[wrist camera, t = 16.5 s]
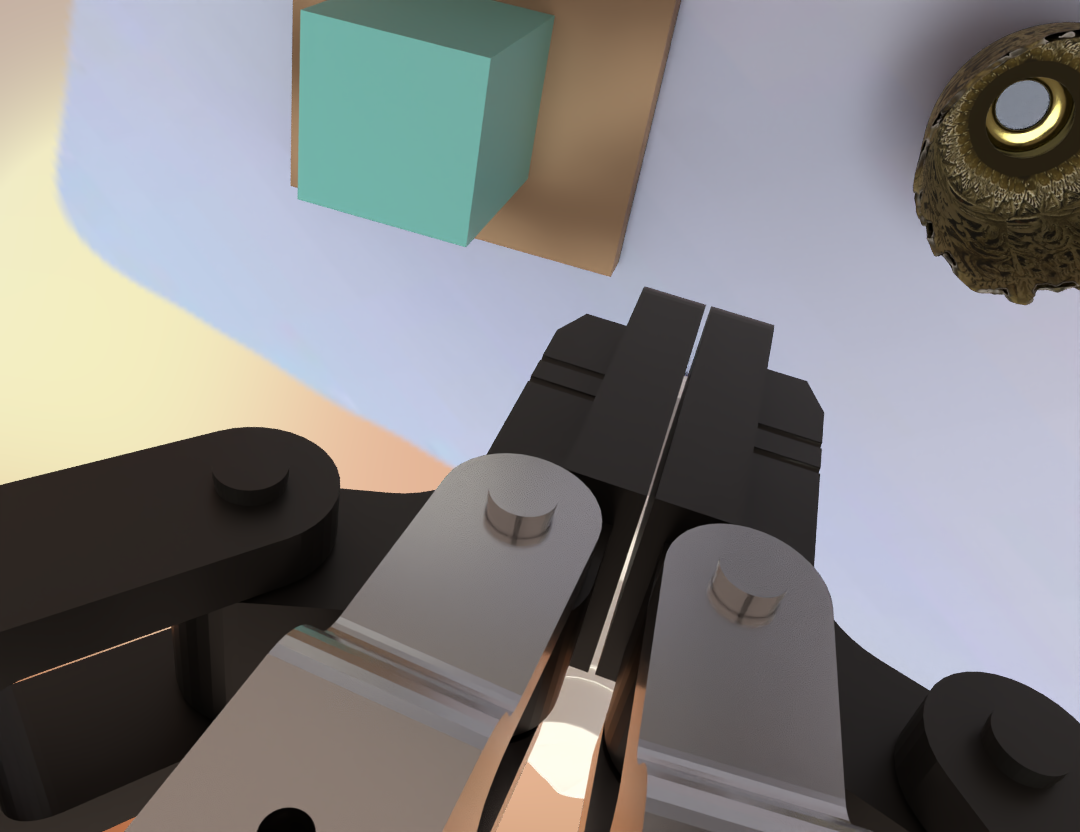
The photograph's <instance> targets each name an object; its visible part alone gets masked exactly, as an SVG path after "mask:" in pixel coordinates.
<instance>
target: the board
mask: <svg viewBox="0 0 1080 832" xmlns="http://www.w3.org/2000/svg"><path fill="white" fill-rule="evenodd" d="M324 1H327V0H293V37H292V120H291V186H293V187H297V188H298V144H299V79H300V15H301V9H304V8H307V7H310V6H313V5H316V4H319V3H321V2H324ZM493 1H497V2H501V3H505V4H509V5H513V6H518V7H522V8H526V9H530V10H534V11H538V12H542V13H546V14H550V15H554V16H555V18H554V24H553V30H552V36H551V42H550V48H549V54H548V60H547V66H546V72H545V78H544V84H543V90H542V96H541V102H540V108H539V114H538V120H537V126H536V132H535V138H534V144H533V150H532V156H531V162H530V168H529V174H528V179H527V180H526V181H525V183H524V184H523V185H522V186H521V187H520V188H519V189H518V190H517V191H516V192H515V194H514V195H513V196H512V197H511V198H510V199H509V200H508V201H507V202H506V204H505V205H504V206H503V207H502V208H501V209H500V210H499V211H498V212H497V214H496V215H495V216H494V217H493V218H492V219H491V220H490V221H489V222H488V223H487V225H486V226H485V227H484V228H483V229H482V230H481V231H480V232H479V233H478V235H477V236H476V237H475V238H476V239H479V240H483V241H486V242H490V243H493V244H497V245H500V246H504V247H507V248H511V249H514V250H518V251H521V252H525V253H528V254H532V255H535V256H539V257H542V258H546V259H550V260H553V261H557V262H560V263H564V264H567V265H571V266H574V267H578V268H581V269H585V270H588V271H592V272H595V273H599V274H602V275H606V276H609V277H611V275H612V273H613V271H614V270H615V268H616V266H617V264H618V262H619V258H620V253H621V249H622V245H623V241H624V237H625V232H626V228H627V224H628V220H629V216H630V212H631V207H632V203H633V199H634V195H635V191H636V187H637V182H638V178H639V174H640V170H641V166H642V162H643V157H644V153H645V149H646V145H647V141H648V137H649V132H650V128H651V124H652V120H653V116H654V111H655V107H656V103H657V99H658V95H659V91H660V86H661V82H662V78H663V74H664V70H665V66H666V61H667V57H668V53H669V49H670V45H671V41H672V36H673V32H674V28H675V24H676V20H677V15H678V11H679V7H680V3H681V0H493Z"/></svg>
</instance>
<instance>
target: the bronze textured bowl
mask: <svg viewBox="0 0 1080 832" xmlns="http://www.w3.org/2000/svg"><path fill="white" fill-rule="evenodd" d="M1025 80H1030V81H1035V82H1038V83H1040V84H1042V85H1043V86H1044V87H1045V88H1046V89H1047V91H1048V93H1049V96H1050V105H1049V109H1048V111H1047V113H1046V115H1045V116H1044V118H1043V119H1042V120H1041V121H1040V122H1039V123H1038V124H1036V125H1035V126H1033V127H1031V128H1028V129H1025V130H1011V129H1008V128H1006V127H1004V126H1003V125H1002V124H1001V123H1000V122H999V121H998V119H997V116H996V103H997V100H998V98H999V97H1000V95H1001V94H1002V92H1003V91H1004V90H1005V89H1006V88H1008V87H1009V86H1011V85H1012V84H1014V83H1017V82H1020V81H1025ZM915 192H916V193H915ZM913 193H915V197H914V199H915V203H916V213H917V216H918V218H919V219H920V221H921V224H922V226H926V229H927V240H928V242H929V244H930V247H931V250H932V252H933V254H934V256H940V255H942V256H943V257H944V258H945V259H946V261H947V262H948V263H949V265H950V266H951V268H952V271H953V273H954V274H955V275H956V276H957V277H958V278H959V279H960V280H961V281H962V282H963V283H964V284H965V285H966V286H968V287H969V288H970V289H971V290H973V291H975V292H978V293H991V294H994V295H996V294H999V295H1003V294H1004V295H1005V297H1006V298H1007V299H1008V300H1009V301H1010V302H1013V303H1016V304H1022V305H1028V304H1030V303H1032V302H1033V300H1034V299H1033V297H1034V296H1035V294H1036V291H1037V290H1050V291H1053V292H1061V291H1063V290H1065V289H1067V288H1076V289H1078V290H1080V23H1076V22H1063V23H1050V24H1044V25H1038V26H1034V27H1030V28H1027V29H1023V30H1020V31H1018V32H1015V33H1012V34H1010V35H1007V36H1005V37H1003V38H1001V39H999V40H997V41H996V42H994V43H992V44H991V45H989V46H987V47H986V48H984V49H983V50H981V51H980V52H979V53H977V54H976V55H975V56H974V57H972V58H971V59H970V60H969V61H968V62H967V63H966V64H965V65H964V66H962V68H961V69H960V70H959V71H958V72H957V73H956V74H955V75H954V76H953V78H952V79H951V80H950V82H949V83H948V84H947V86H946V87H945V89H944V90H943V92H942V94H941V95H940V97H939V99H938V100H937V102H936V104H935V106H934V109H933V111H932V113H931V116H930V118H929V121H928V124H927V127H926V130H925V134H924V138H923V143H922V147H921V152H920V157H919V161H918V164H917V168H916V173H915V178H914V184H913Z"/></svg>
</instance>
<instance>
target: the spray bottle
mask: <svg viewBox="0 0 1080 832" xmlns="http://www.w3.org/2000/svg"><path fill="white" fill-rule="evenodd" d="M687 377H688V376H684V378H683V381H682V384H681V388H680V391H679V394H678V397H677V401H676V404H675V407H674V410H673V414H672V417H671V420H670V423H669V427H668V430H667V433H666V436H665V440H664V443H663V446H662V449H661V453H660V456H659V459H658V462H657V466H656V469H655V472H654V476H653V479H652V482H651V485H650V489H649V492H648V495H647V498H646V501H645V504H644V507H643V510H642V513H641V516H640V519H639V522H638V525H637V528H636V531H635V534H634V537H633V540H632V543H631V546H630V549H629V552H628V555H627V558H626V561H625V564H624V567H623V570H622V573H621V576H620V579H619V582H618V585H617V588H616V591H615V594H614V597H613V600H612V603H611V606H610V609H609V612H608V615H607V618H606V621H605V624H604V627H603V630H602V633H601V636H600V639H599V642H598V645H597V647H596V650H595V653H594V656H593V659H592V662H591V665H590V668H589V671H588V672H585V671H582V670H579V669H576V668H574V667H571V666H569V667H568V670H567V673H566V676H565V678H564V681H563V684H562V687H561V690H560V693H559V696H558V699H557V701H556V704H555V706H554V708H553V710H552V711H551V712H550V714H549V715H548V716H547V718H546V719H545V720H543V723H542V727H541V730H540V733H539V736H538V738H537V740H536V742H535V745H534V747H533V749H532V751H531V754H530V756H529V758H528V760H527V761H528V762H529V763H530V764H531V765H532V766H533V767H534V768H535V770H536V771H537V772H538V773H539V774H540V775H541V776H542V777H543V778H545V779H546V780H547V781H548V782H549V784H550V785H551V786H552V787H553V788H554V790H555V791H556V792H558V793H559V794H561V795H565V796H568V797H574V798H584V797H585V792H586V787H587V781H588V776H589V771H590V765H591V760H592V755H593V752H594V748H595V745H596V742H597V740H598V737H599V734H600V732H601V729H602V726H603V724H604V721H605V718H606V715H607V712H608V708H609V705H610V701H611V698H612V694H613V690H614V687H615V683H616V682H614V681H611V680H608V679H606V678H603V677H600V676H597V675H595V672H596V669H597V666H598V662H599V659H600V656H601V653H602V649H603V646H604V643H605V639H606V636H607V633H608V630H609V626H610V623H611V620H612V616H613V613H614V610H615V607H616V603H617V600H618V597H619V593H620V590H621V587H622V584H623V580H624V577H625V574H626V570H627V567H628V564H629V561H630V557H631V554H632V551H633V547H634V544H635V541H636V538H637V534H638V531H639V528H640V524H641V521H642V518H643V515H644V511H645V508H646V505H647V501H648V498H649V495H650V492H651V488H652V485H653V482H654V478H655V475H656V472H657V469H658V465H659V462H660V459H661V456H662V453H663V449H664V446H665V443H666V440H667V437H668V434H669V431H670V428H671V425H672V422H673V419H674V416H675V413H676V410H677V407H678V404H679V401H680V398H681V395H682V392H683V389H684V386H685V383H686V380H687Z"/></svg>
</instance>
